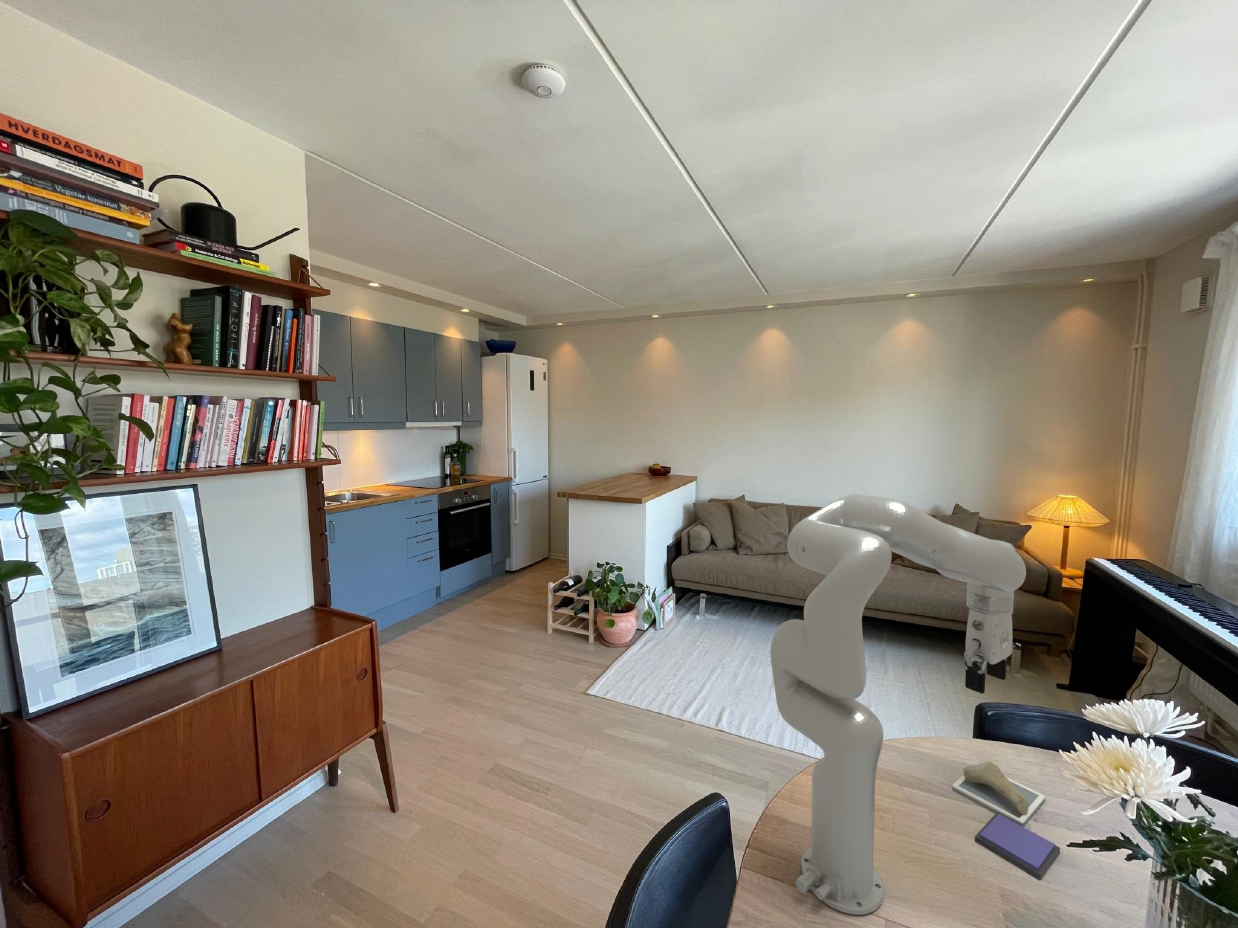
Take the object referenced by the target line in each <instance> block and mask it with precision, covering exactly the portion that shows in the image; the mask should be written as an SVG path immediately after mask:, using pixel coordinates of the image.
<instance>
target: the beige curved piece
mask: <svg viewBox="0 0 1238 928" xmlns="http://www.w3.org/2000/svg"><path fill="white" fill-rule="evenodd" d="M962 772H963V775H964V777H965V778H966V779H967V780H968V781H971V782H973V783H981V784H987V785H989V786H991V787H993V788H994V789H995V790H997V791H998V792H999V793H1001V794H1002V795H1003V796H1005V797H1006V798H1007V799H1008V800H1009V801H1010V802H1011V803H1012V804H1013V805H1014V806H1015V807H1016V809H1017V810H1018V811H1019V812H1020V813H1021V814H1025V815H1026V814H1027V812H1028V801H1027V800H1026V798H1025V797H1024V796H1023V795H1022V794H1021V793H1020V792H1019V791H1018V790H1017V789H1016V788H1015V787H1014V786H1013V785H1012V783H1011V782H1010V781H1009V780H1008V779H1007V778H1008V777H1007V776H1005V774H1004V773H1003V772H1002V770H1001V769H1000V767H998V765H997V764H995V763H994V762H992V761H985V762H982V763H978V764H976V763H975V764H970V765H967V766H966V765H965V766H964V767H963V771H962ZM1006 777H1007V778H1006Z"/></svg>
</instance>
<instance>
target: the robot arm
mask: <svg viewBox="0 0 1238 928" xmlns="http://www.w3.org/2000/svg"><path fill="white" fill-rule="evenodd" d="M786 547H787V551H788V555H789V557H790V558H791V560H792V561H793V562H794V563H795V564H796V565H798V566H799V567H801V568H803V569H807V570H810V571H812V572H816V573H820V574H823V575H825V577H824V579H823V580H822V581H821V582H820V583H819V584H818V585H817V586H816V587H815V588H814V589H813V591H811V593H810V594H809V595H808V597H807V599H806V601H805V603H804V607H803V620H802V619H798V618H796V619H795V618H794V619H789V620H786V621H784V622H782V624H780V625H779V626H778V628H777V629H776V631H775V632H774V635H773V637H772V638H771V639H772V640H771V644H770V653H769V654H770V664H771V671H772V679H773V686H774V692H775V694H774V695H775V700H776V705H777V709H778V711H779V712H778V713H779V715H780V716H781V718H782V719H783V721H785V722H786V724H788V725H789V726H790V727H791V728H793V729H794V730H796V731H798V732H799V733H801V734H802V735H803V736H805V737H806V738H807V739H809V740H810V741H811V742H812V743H813V744H815V745H817V746H818V747H819V748H820V749H821V750H822V752H823V753H824V754H823V757H821V758H820V759H819V760H818V761H817V762H816V763H815V764H814V766H813V769H812V774H811V836H810V838H811V841H810V842H811V843H810V846H809V847H807V848H806V850H805V851H804V852H803V854H802V856H801V862H800V863H801V873H802V874H801V875H799V877H798V878H796V879H795V881H794V882H795V886H796V888H797V890H798V891H799V892H800V893H801V894H803V895H804V894H806V893H807V892H808V891H811V892H812V894H814V896H816V897H817V899H819V900H820V901H821V902H823V903H824V904H826V905H827V906H829V907H830V908H832V909H834V910H837V911H839V912H842V913H846V914H848V915H849V914H850V915H855V916H856V915H859V916H860V915H863V916H864V915H867V914H870V913H872V912H875V911H876V910H877V909H879V907H880V906H881V904H882V902H883V901H884V900H883V899H884V884H883V879H882V877H881V875H880V873H879V871H878V870H877V868H876V867H875V866H874V854H875V853H874V851H875V848H874V847H875V843H874V841H875V806H876V803H875V802H876V801H875V797H876V796H875V795H876V777H877V769H878V764H879V759H880V756H881V752H882V747H883V743H884V727H883V724H882V723H881V721H880V719H879V717H878V716H877V715H876V714H875V713H874V712H873V711H872V710H871V709H870V708H868V706H866V705H864V704H863V703H861V702H860V701H859V700H856V699H858V698H859V697H860V696H861V695H862V694H863V693H864V690H865V688H866V684H867V666H866V664H867V663H866V655H865V646H864V645H865V643H864V636H863V620H862V619H863V612H864V610H865V607H866V606H867V605H866V604H867V603H868V601H869V599H870V598H871V596H872V595H873V593H874V592H875V590H877V588H878V587H879V585H880V584H881V582H883V580H884V578H885V577H886V575H887V574H888V572H889V570H890V568H891V566H892V565H891V564H892V555H893V554H892V553H894V554H897V555H900V556H902V557H904V558H906V559H908V560H910V561H913V562H914V563H916V564H919V565H920V566H921V565H922V566H924V567H928V568H930V569H934V570H936V571H937V572H938V573H939V574H941V575H942V576H944V577H946V578H949V579H951V580H956V581H959V582H963V583H967V584H966V587H967V588H966V589H967V590H966V606H967V607H968V608H969V611H968V618H967V625H966V634H965V651H964V653H963V655H964V665H965V666H964V667H965V668H964V669H965V682H964V684H965V685H964V687H965V688H966V689H968V690H970V691H974V692H977V693H979V694H985V692H986V675H988V676H990V677H994V678H996V679H999V680H1002V681H1005V680H1006V678H1007V663H1008V662H1007V660H1008V657H1010V656H1011V655H1012V653H1013V617H1012V615H1013V614H1014V600H1015V596H1014V594H1015V591H1016V590H1018V589H1019V588H1020V587H1021V586H1022V585H1023V583H1024V582H1025V580H1026V576H1027V567H1026V565H1025V562H1024V560H1023V558H1022V557H1021V555H1020V554H1019V553H1018V552H1016V548H1015V546H1014V545H1013V544H1012V543H1009V542H1007V541H1004V540H997V539H990V538H988V537H984V536H982V535H978V534H976V533H973V532H970V531H967V530H964V529H963V528H959V527H957V526H954V525H951V524H947V523H944V522H942V521H941V520H938V519H937V518H935V517H933V516H931V515H929V514H927V513H925V512H923V510H920V509H918V508H916V507H914V506H912V505H911V504H909V503H907V502H905V501H902V500H899V499H895V498H889V497H882V496H881V497H880V496H872V495H865V494H849V495H845V496H843V497H841V498H840V497H839V498H838V499H836V500H834V501H832V502H830V503H829V504H826V505H824V506H823V507H822V508H819V509H818V510H817V511H815V512H813V513H811V514H810V515H808V516H806V517H804V518H803V519H802V520H800V521H799V522H797V524H796V525H794V527H792V530H791V531H790V533H789V535H788V538H787V543H786ZM977 661H978V662H980V663H979V664H978V662H977ZM985 668H986V673H985Z"/></svg>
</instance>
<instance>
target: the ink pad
mask: <svg viewBox="0 0 1238 928" xmlns="http://www.w3.org/2000/svg"><path fill="white" fill-rule="evenodd" d="M974 842H975V843H977V844H979V845H981V846H983V847H984V848H986V849H987V850H989V851H991V852H992V853H994V854H996V855H998V856H999V857H1001V858H1003V859H1004V860H1005V861H1007V862H1009V863H1011V864H1012V865H1014V866H1015V867H1017V868H1019V869H1021V870H1023V871H1024V872H1026V873H1027V874H1029V875H1031V876H1032V877H1034V878H1036V879H1037V880H1039V881H1041V880H1042V879H1043V878H1044V876H1045V874H1046V873H1047V872H1048V870H1049V869H1050V867H1051V866H1052V865H1053V863H1054V862H1055V860H1056V859H1057V857H1058V856H1059V855H1060V853H1061V847H1060V846H1058V845H1056V844H1055V843H1053V842H1052V841H1050V840H1048V839H1046V838H1044V837H1043V836H1041V835H1039V834H1037V833H1035V832H1034V831H1031V830H1029V829H1028V828H1026V827H1025V826H1024V827H1022V826H1020V825H1019V824H1017V823H1015V822H1013V821H1011V820H1009V819H1008V818H1006V817H1004V816H1002V815H1000V814H997V813H994V815H993V816H992V817H991V818H990V820H989V821H987V823H986V824H985V825H984V826H983V827H982V828H981V829H980V830H979V831H978V832H977V833H976V834H975V835H974Z"/></svg>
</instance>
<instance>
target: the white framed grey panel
mask: <svg viewBox="0 0 1238 928" xmlns="http://www.w3.org/2000/svg"><path fill="white" fill-rule="evenodd" d="M975 764H979V763H978V762H977V763H975ZM1005 777H1006V778H1007V779H1008V780H1009V781H1010V782H1011V783H1012V785H1013V786H1014V787H1015V788H1016V789H1017V790H1018V791H1019V792H1020V793H1021V794H1022V795H1023V796H1024V797H1025V798H1026V800H1027V801H1028V812H1027V814H1026V815H1025V814H1021V813H1020V812H1019V811H1018V810H1017V809H1016V807H1015V806H1014V805H1013V804H1012V803H1011V802H1010V801H1009V800H1008V799H1007V798H1006V797H1005V796H1003V795H1002V794H1001V793H999V792H998V791H997V790H995V789H994V788H993V787H991V786H989V785H987V784H981V783H973V782H971V781H968V780H967V779H966V778H965V777H964V774H963V775H961V777H959V778H958V779H957V780H956V781H955V782H954V783H952V784H951V790H952V791H954V792H955V793H957V794H959V795H962V796H963V797H965V798H966V799H968V800H970V801H972V802H974V803H976V804H978V805H979V806H982V807H983V808H985V809H987V810H988V811H990V812H992V813H994V814H996V813H997V814H1000V815H1002V816H1004V817H1006V818H1008V819H1009V820H1011V821H1013V822H1015V823H1017V824H1019V825H1020V826H1022V827H1024V828H1025V826H1026V825H1027V823H1028V822H1029V821H1030V820H1031V819H1032V817H1033V816H1034V815H1035V814H1036V813H1037V811H1038V810H1039V809H1040V808H1041V807H1042V806H1043V804H1045V802H1046V795H1044V794H1042V793H1040V792H1038V791H1036V790H1034V789H1031V787H1030V788H1029V787H1027V786H1025V785H1024V784H1021V783H1019V782H1017V781H1015V780H1014V779H1011V778H1009V777H1007V776H1005Z"/></svg>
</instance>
